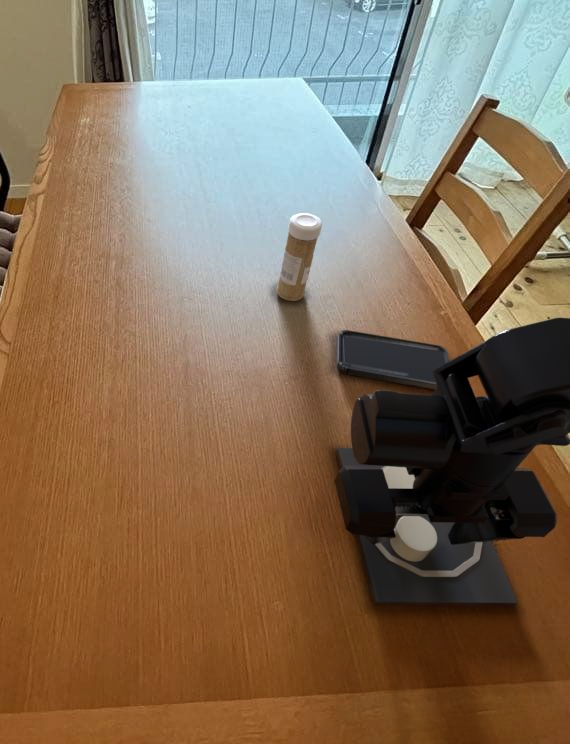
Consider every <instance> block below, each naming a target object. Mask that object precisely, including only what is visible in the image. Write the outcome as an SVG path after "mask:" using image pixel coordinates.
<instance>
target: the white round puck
mask: <svg viewBox="0 0 570 744" xmlns="http://www.w3.org/2000/svg"><path fill="white" fill-rule="evenodd" d="M383 472H384V475H385V478H386V481H387V484H388V488H403V489H413V482H414V480H415V477H414V475H409V474H408V472H407V469H406V468H405V467H391V466H388V467H386V468H385V469H384V470H383Z"/></svg>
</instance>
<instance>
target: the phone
mask: <svg viewBox="0 0 570 744" xmlns="http://www.w3.org/2000/svg"><path fill="white" fill-rule="evenodd" d="M448 353H449V352H448V350H447V349H446V348H445V347H444V346H442V345H438V344H433V343H426V342H420V341H415V340H409V339H403V338H397V337H391V336H385V335H379V334H373V333H367V332H361V331H355V330H350V329H343V330H340V331H339V332H338V336H337V339H336V369H337V371H339V372H340V373H342V374H345V375H352V376H355V377H360V378H361V377H362V378H367V379H372V380H378V381H384V382H389V383H395V384H401V385H406V386H413V387H417V388H423V389H428V390H433V391H435V389H436V387H437V384H436V382H435V379H434V376H433V373H432V372H433V370H434V369H436V368H438V367H440V366H441V365H443V364H445V363H447V362H449V361H450V358H449V354H448Z"/></svg>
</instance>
